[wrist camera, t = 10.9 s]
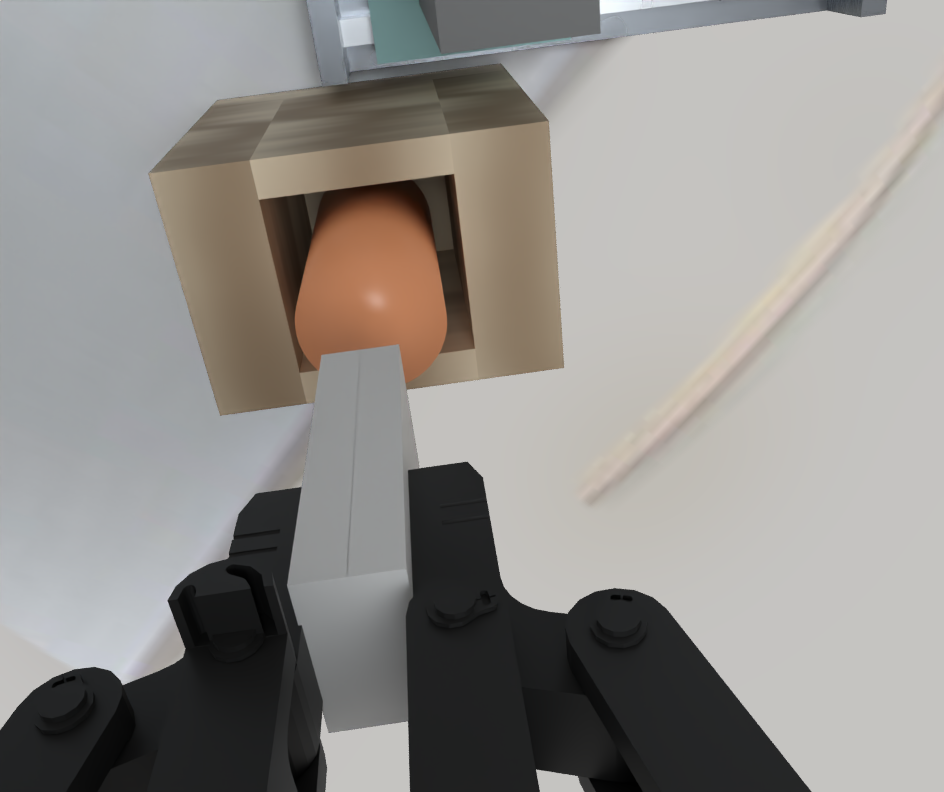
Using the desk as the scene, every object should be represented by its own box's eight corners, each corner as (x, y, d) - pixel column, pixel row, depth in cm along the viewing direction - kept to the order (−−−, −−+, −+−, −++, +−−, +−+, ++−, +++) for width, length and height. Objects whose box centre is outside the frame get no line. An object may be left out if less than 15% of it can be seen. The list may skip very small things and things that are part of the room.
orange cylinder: (329, 281, 28) (311, 400, 21) (307, 173, 26) (279, 263, 19) (437, 267, 28) (455, 380, 21) (422, 158, 26) (436, 241, 19)
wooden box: (265, 295, 33) (223, 427, 25) (217, 100, 30) (148, 173, 21) (517, 261, 34) (565, 379, 25) (500, 63, 30) (548, 121, 21)
